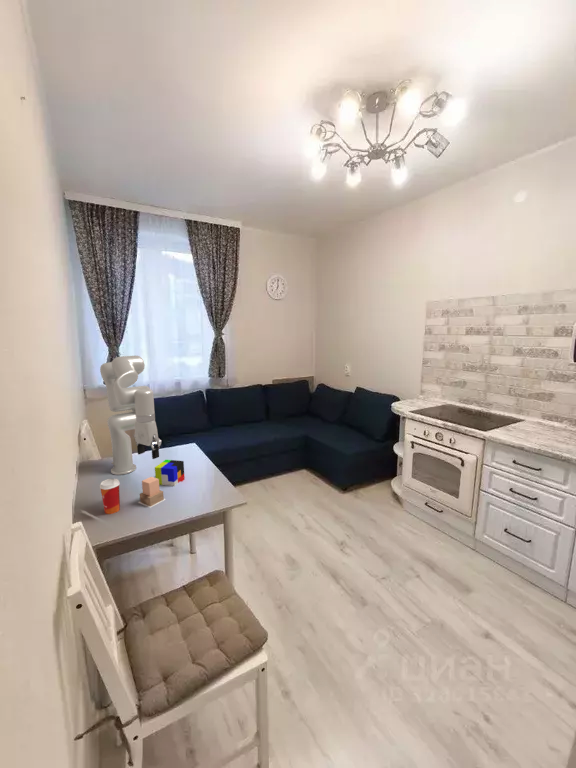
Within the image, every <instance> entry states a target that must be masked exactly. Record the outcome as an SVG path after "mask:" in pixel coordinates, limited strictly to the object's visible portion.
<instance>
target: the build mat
mask: <svg viewBox="0 0 576 768" xmlns="http://www.w3.org/2000/svg"><path fill="white" fill-rule="evenodd" d="M166 500H167V499H166V498H164V500H162V501H160V502H158V503H156V504H154V505H153V506H148V505H146V504H143V503H141V502H140V501H138V502H137V503H138V504H140V505H142V506H145V507H147V508H150V509H151V508H152V507H155V506H156V505H158V504H160V503H163V502H164V501H166Z"/></svg>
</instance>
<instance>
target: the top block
mask: <svg viewBox="0 0 576 768" xmlns="http://www.w3.org/2000/svg"><path fill="white" fill-rule="evenodd" d="M141 485H142V487H141V488H142V493H143V494H145V495H148V496H152V495H154V494H156V493H158V492H160V490H161V489H160V485H159V479H157V478H156V477H153V476H149V477H147V478H145V479H143V480H141Z"/></svg>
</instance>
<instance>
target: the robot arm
mask: <svg viewBox="0 0 576 768" xmlns="http://www.w3.org/2000/svg"><path fill="white" fill-rule="evenodd" d="M145 366H146V365H145V360H144V359H143V358H142V357H141V356H140V355H123V356H117V357H114V359H112V361H111V362H110V361H109V362H104V363H102V364H101V365H100V367H99V371H100V372H99V373H100V376H101V379H102V380H103V382H104V384H105V387H106V394H107V403H108V407H109V410H110V411H111V412H114V413H115V414H112V415H110V416H109V417H108V419H107V421H106V422H107V427H108V430H109V435H110V441H111V451H112V452H111V453H112V460H113V461H111V465H113V467H112V468H111V469H110V472H111V474H113V475H117V476H118V475H120V476H121V475H122V476H123V475H127V474H130V473H132V472H134V471H135V470H137V465H136V464H135V463H134V459H133V451H132V438H131V436H130V435H129V434H128V433H126V431H131V430H132V431H133V430H134V434H133V437H134V441H135V446H136V447H137V455H142V454H144V453H145V452H146V450H145V446H147V447H151V449H152V450H151V458H152V460H155V459H157V458H160V448H161V445H162V439H160V438H159V434H158V427H157V422H156V413H155V400H154V399H155V398H154V397H155V396H154V391H153V390H152V389H151V388H150V387H149V386H148V385H140V386H139V385H138V386H133V385H135V384H136V382H137V381H138V379H139V375H140V374H142V372H144V370H145ZM124 411H129V412H124ZM117 412H121V413H117ZM123 412H124V413H123ZM154 445H155V446H154Z"/></svg>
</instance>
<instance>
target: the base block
mask: <svg viewBox="0 0 576 768" xmlns="http://www.w3.org/2000/svg"><path fill="white" fill-rule="evenodd" d="M164 499H165V497H164V491H163V490H161V489H160V492H158V493H156V494H154V495H152V496H148V495H145V494H143V492H141V493H139V502H141V503H143V504H146V505H148V506H153V505H154V504H156V503H158V502H160V501H162V500H164ZM164 501H165V500H164ZM162 502H163V501H162ZM160 503H161V502H160ZM158 504H159V503H158ZM156 505H157V504H156ZM153 507H154V506H153Z"/></svg>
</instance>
